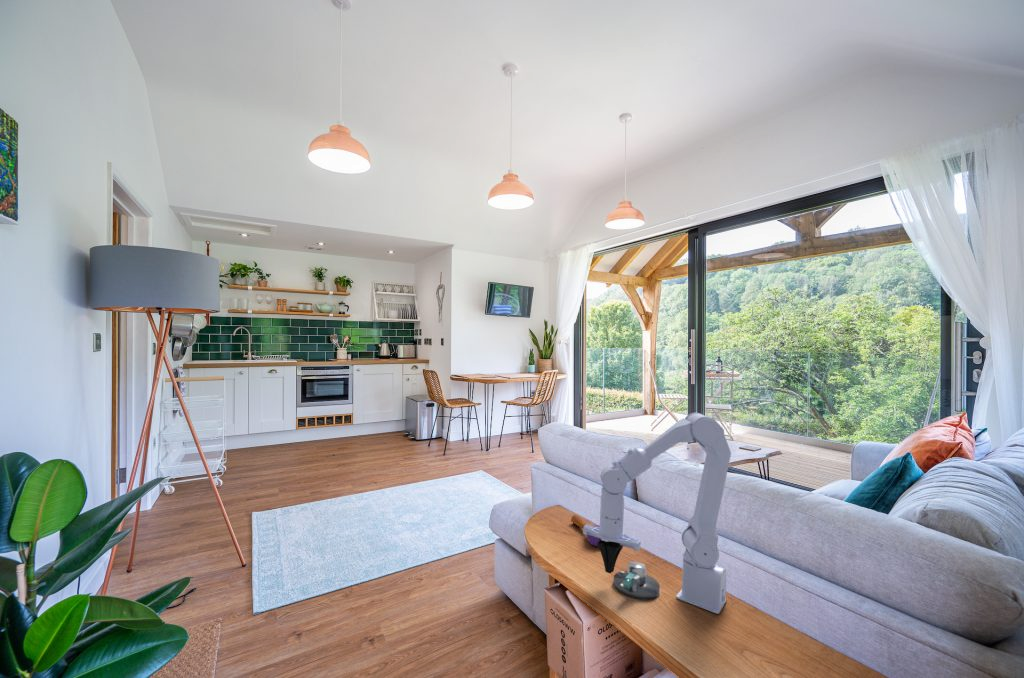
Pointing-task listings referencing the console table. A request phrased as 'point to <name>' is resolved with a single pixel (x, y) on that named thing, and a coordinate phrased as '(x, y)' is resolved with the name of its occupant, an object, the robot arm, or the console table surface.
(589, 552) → the console table surface
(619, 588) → the post plate
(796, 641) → the console table surface
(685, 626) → the console table surface
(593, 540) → the purple maraca
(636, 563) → the teal ball-top lever
